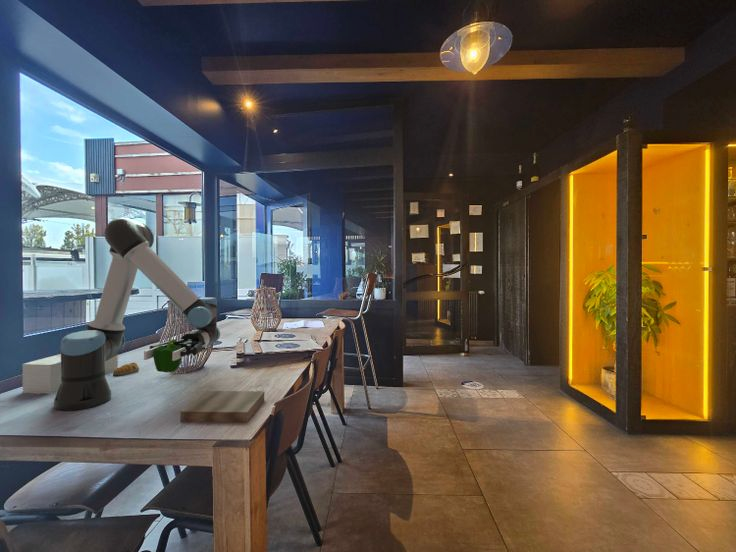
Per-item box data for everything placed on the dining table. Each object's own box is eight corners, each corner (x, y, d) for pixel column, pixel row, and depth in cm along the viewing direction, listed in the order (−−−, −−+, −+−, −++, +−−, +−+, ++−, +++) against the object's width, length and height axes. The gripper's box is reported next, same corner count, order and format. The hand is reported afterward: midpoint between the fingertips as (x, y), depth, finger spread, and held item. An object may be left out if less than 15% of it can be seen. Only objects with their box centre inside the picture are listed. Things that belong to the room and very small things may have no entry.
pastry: (120, 377, 148) (120, 368, 148) (108, 375, 150) (108, 366, 150) (140, 371, 157) (140, 362, 157) (129, 369, 159) (129, 361, 159)
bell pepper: (156, 376, 110) (157, 344, 109) (150, 370, 116) (150, 339, 115) (186, 371, 115) (186, 340, 115) (178, 366, 121) (179, 336, 121)
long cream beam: (95, 368, 160) (95, 344, 160) (117, 369, 160) (117, 345, 160) (22, 393, 128) (22, 363, 128) (50, 394, 128) (50, 364, 128)
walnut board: (180, 421, 107) (180, 411, 107) (207, 399, 125) (207, 390, 125) (247, 422, 107) (247, 412, 107) (264, 400, 125) (264, 391, 125)
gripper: (222, 352, 133) (192, 369, 111) (166, 350, 133) (125, 367, 111) (222, 332, 133) (193, 345, 111) (166, 330, 133) (125, 343, 110)
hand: (159, 356), depth 111 cm, fingers closed on bell pepper, 8 cm apart
